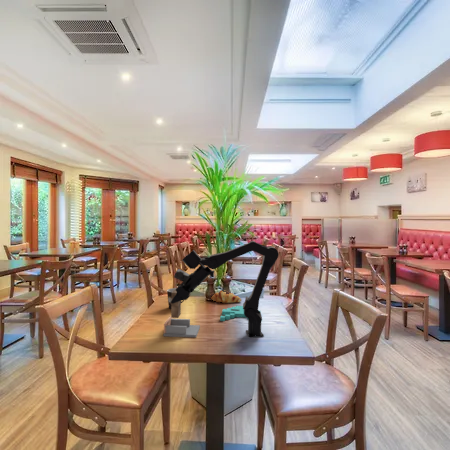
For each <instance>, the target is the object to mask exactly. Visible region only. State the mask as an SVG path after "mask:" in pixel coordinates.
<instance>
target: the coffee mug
mask: <svg viewBox="0 0 450 450" xmlns="http://www.w3.org/2000/svg"><path fill="white" fill-rule="evenodd" d="M176 288H177V287H174V288H173V287H172V288H168V289H167V290H166V292H167V293H166V295H167V303H168V309H169V310H171V299H172V292H173V291H174V290H175V289H176ZM184 301H185V300H181V304H182V303H184Z"/></svg>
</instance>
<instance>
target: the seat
mask: <svg viewBox="0 0 450 450" xmlns="http://www.w3.org/2000/svg"><path fill="white" fill-rule="evenodd" d="M200 328H201V325H199V324H198V325H197V324H194V325H193V324H191V319H190V318H171V315H170V316H169V317H168V318H167V319H166V320H165V322H164V323H163V335H162V336H163V337H171V338H172V337H173V338H174V337H175V338H197V336H198V334H199V331H200Z"/></svg>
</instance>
